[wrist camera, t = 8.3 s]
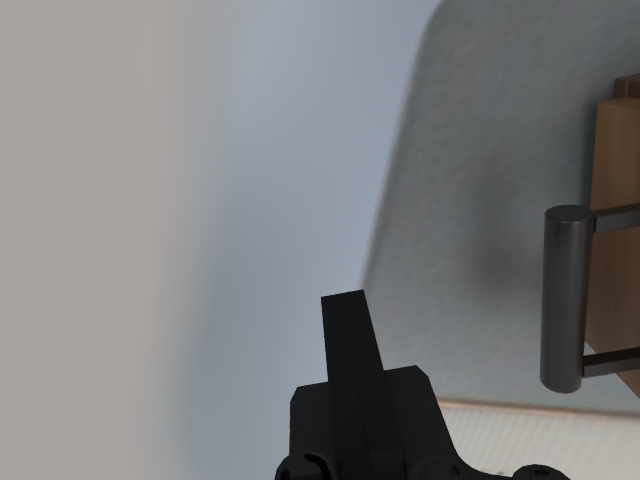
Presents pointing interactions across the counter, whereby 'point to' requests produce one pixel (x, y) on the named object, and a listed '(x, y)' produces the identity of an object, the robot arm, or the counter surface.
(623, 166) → the drawer
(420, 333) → the counter surface
